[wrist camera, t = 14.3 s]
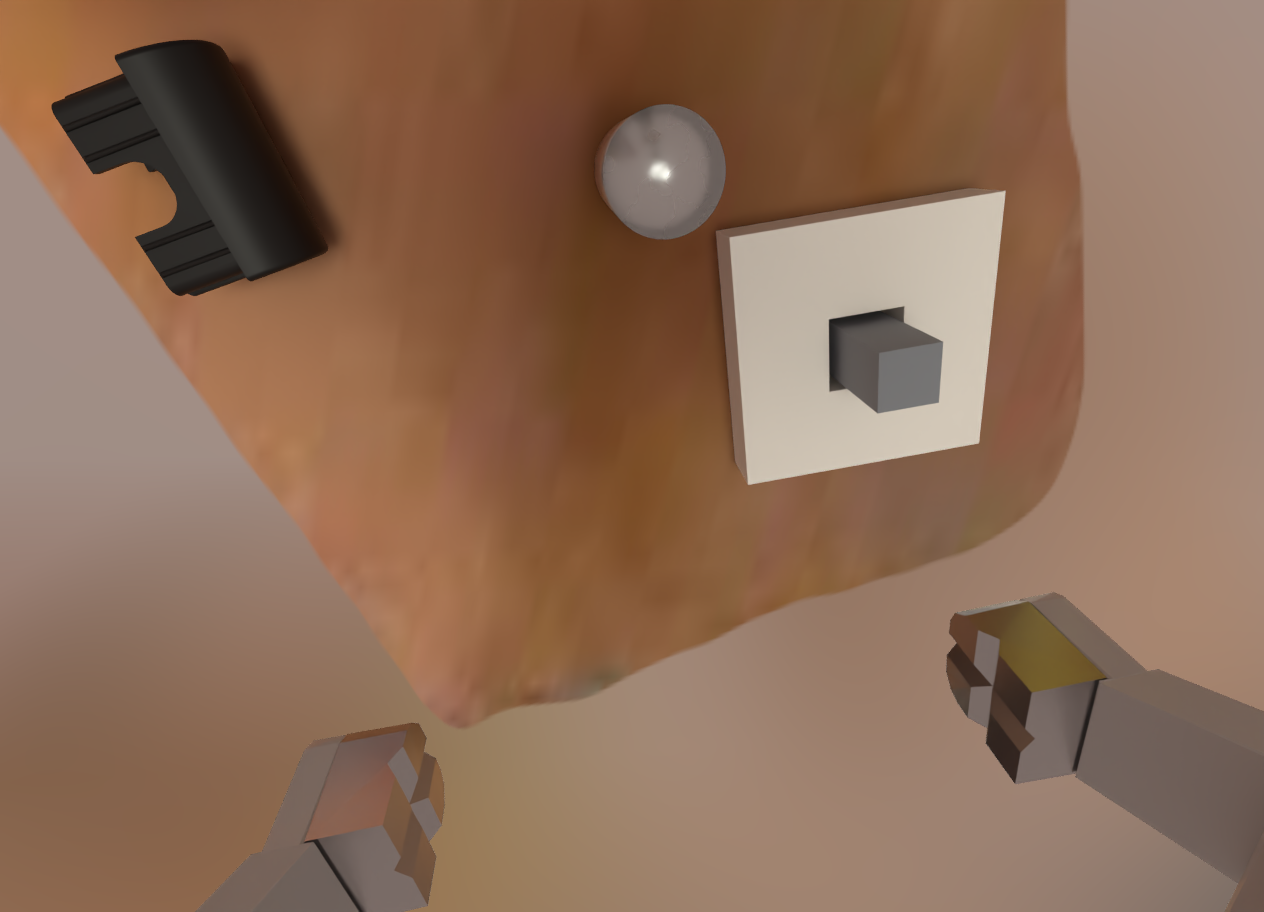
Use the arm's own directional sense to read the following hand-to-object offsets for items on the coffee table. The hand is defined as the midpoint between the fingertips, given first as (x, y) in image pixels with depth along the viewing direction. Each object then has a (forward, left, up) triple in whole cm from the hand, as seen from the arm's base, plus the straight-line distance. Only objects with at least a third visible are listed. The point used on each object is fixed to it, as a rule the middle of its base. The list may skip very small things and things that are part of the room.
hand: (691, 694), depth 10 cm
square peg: (+6, +16, -33) cm, 37 cm away
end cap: (-9, -18, -33) cm, 39 cm away
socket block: (+6, +16, -33) cm, 37 cm away
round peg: (-6, +4, -33) cm, 34 cm away
